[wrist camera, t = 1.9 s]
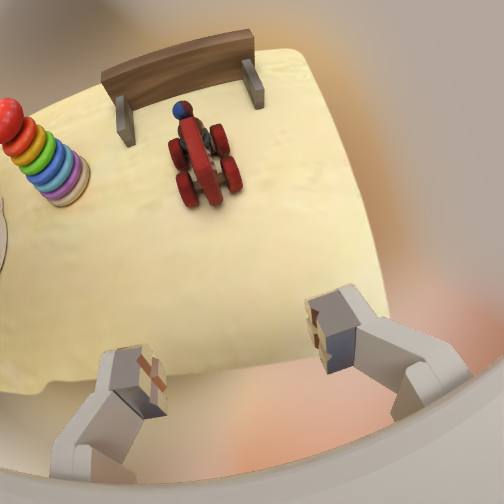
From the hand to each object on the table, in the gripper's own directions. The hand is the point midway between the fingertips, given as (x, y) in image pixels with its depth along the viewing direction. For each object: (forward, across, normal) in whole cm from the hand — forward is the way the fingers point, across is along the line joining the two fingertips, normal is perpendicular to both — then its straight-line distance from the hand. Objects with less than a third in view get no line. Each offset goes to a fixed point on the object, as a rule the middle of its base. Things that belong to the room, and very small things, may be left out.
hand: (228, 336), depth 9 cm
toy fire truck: (+30, 0, +3) cm, 30 cm away
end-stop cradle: (+39, 0, -6) cm, 39 cm away
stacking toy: (+34, +20, -1) cm, 40 cm away
